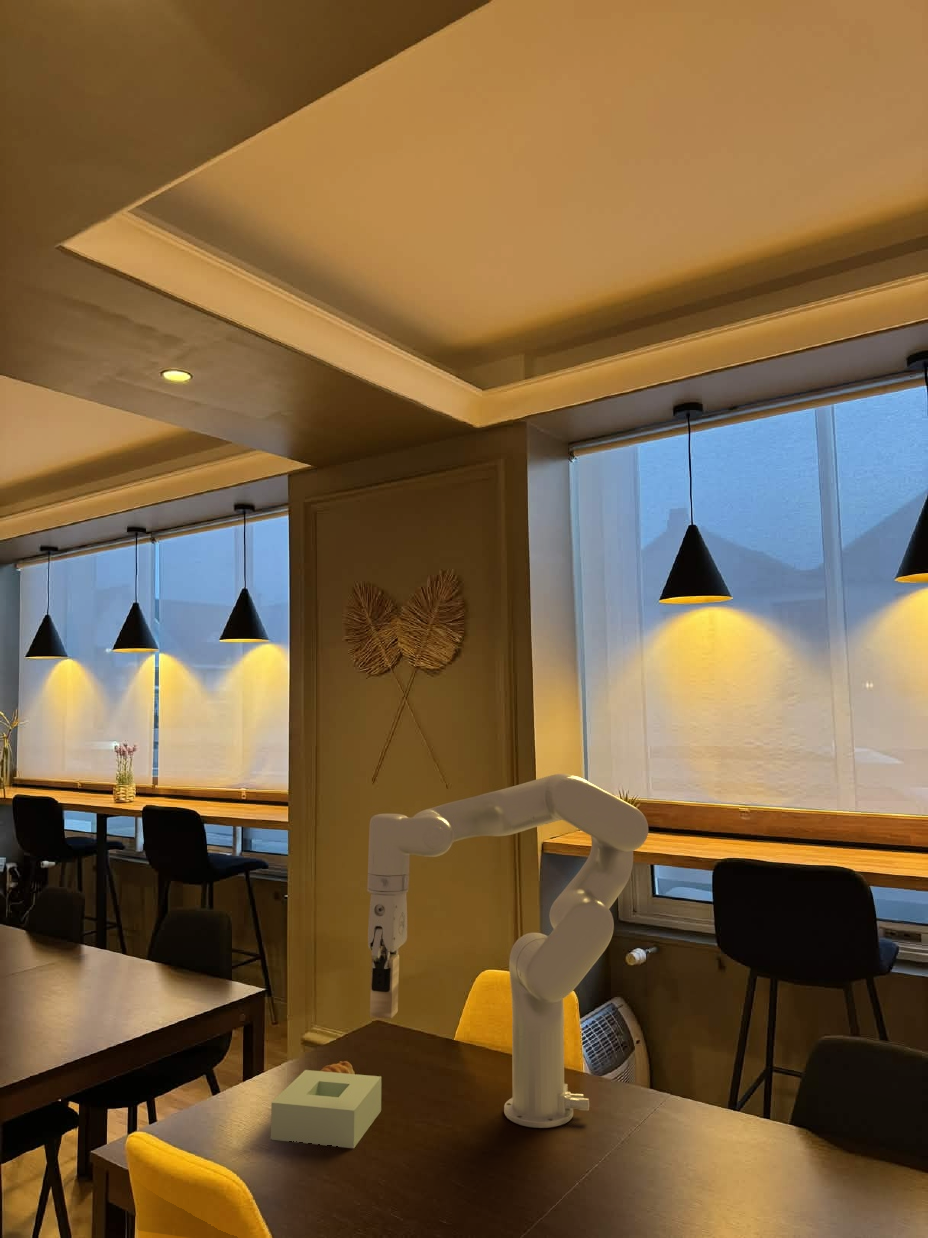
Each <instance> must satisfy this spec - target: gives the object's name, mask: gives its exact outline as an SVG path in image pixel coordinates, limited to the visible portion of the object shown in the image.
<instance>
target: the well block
mask: <svg viewBox="0 0 928 1238" xmlns="http://www.w3.org/2000/svg"><path fill="white" fill-rule="evenodd" d="M381 1111H382V1076H381V1075H379V1076H377V1075H368V1074H367V1075H366V1074H365V1075H364V1074H357V1073H356V1074H346V1073H335V1072H323V1071H321V1070H309V1069H304V1070H303V1072H301V1073H300V1074H299V1075H298V1076H297V1077H296V1078H295V1079H294V1080H293V1081H292V1082H291V1083H290V1084H289V1085H288V1086H287V1087H286V1088H285V1089H283V1090H282V1092H281V1093H280V1094H279V1095H277V1096H276V1097H275V1098H274V1100H272V1101H271V1111H270V1112H271V1115H270V1117H271V1118H270V1140H271V1139H272V1140H273V1141H281V1142H289V1141H292V1143H299V1142H303V1143H302V1144H308V1143H312V1144H311V1145H318V1144H320V1146H327V1145H332V1146H331V1147H336V1146H338V1147H339V1148H347V1149H355V1147H356V1146H357V1145H358V1143H359V1142H360V1141H361V1139H363V1136H364V1135H365V1134H366V1132H367V1131H368V1130H369V1128H370V1126H372V1124H373V1123H374V1121H375V1120H376V1118H377V1117H378V1116H379V1114H380V1113H381ZM272 1140H271V1141H272ZM293 1141H294V1142H293ZM296 1141H297V1142H296ZM338 1147H337V1148H338Z"/></svg>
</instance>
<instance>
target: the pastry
mask: <svg viewBox="0 0 928 1238" xmlns="http://www.w3.org/2000/svg"><path fill="white" fill-rule="evenodd" d="M320 1071H323V1072H335V1073H346V1074H355V1070H353V1065H352V1064H351V1063H350V1062H349V1061H347V1060H345V1061H341V1060H340V1061H339V1062H338V1063H332V1064H329V1065H325V1066H323V1067H322V1069H320Z"/></svg>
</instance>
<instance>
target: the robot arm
mask: <svg viewBox="0 0 928 1238" xmlns="http://www.w3.org/2000/svg"><path fill="white" fill-rule="evenodd" d="M558 821H564V822H565V823H568V824H569V825H571V826H573V827H575V828H576V829H578V830H580V831H582V832H583V833H585V834H588V836H590V839H591V846H590V847H591V848H590V852H589V855H588V856H587V859H586V860H585V862H584V864H583V865H582V866H581V868H580V870H579V871H578V872H577V874H575V876H574V877H573V878H572V880H570V882H569V883H568V885H567V886H566V887H565V888H564V889H563V890H562V891H561V893H559V895H558V896H557V898H556V899H554V901H553V902H552V905H551V907H550V909H549V921H550V924H551V927H552V929H553V930H552V931H551V932H550V934H548V935H546V934H544V933H540V932H529V933H525V934H523V935H522V936H520V937H519V938H518V939H517V940H516V941H515V942H514V944H513V946H512V947H511V950H510V955H509V958H508V959H509V962H508V964H509V965H508V968H509V970H508V971H509V980H510V990H511V991H510V992H511V1012H512V1013H511V1014H512V1015H511V1019H512V1021H511V1035H512V1036H511V1037H512V1038H511V1039H512V1040H511V1042H512V1043H511V1045H512V1046H511V1049H512V1050H511V1053H512V1056H511V1058H512V1060H511V1061H512V1063H511V1064H512V1065H511V1066H512V1070H511V1071H512V1078H511V1079H512V1080H511V1081H512V1082H511V1083H512V1097H511V1098H509V1099H508V1100H507V1101H506V1102H505V1103H504V1106H503V1112H504V1115H505V1117H506V1118H507V1119H508V1120H510V1121H511V1122H512V1123H515V1124H517V1125H520V1126H523V1127H527V1128H534V1129H537V1128H538V1129H548V1128H555V1127H560V1126H563V1125H565V1124H566V1123H568V1122H570V1121H571V1120H572V1118H573V1117H574V1109H575V1110H579V1111H589V1110H590V1099H589V1098H586V1097H584V1094H583V1093H571V1091H569V1090H568V1089H569V1087H568V1083H565V1044H564V1043H565V1041H564V1040H565V1039H564V1038H565V1037H564V1035H565V1031H564V1029H565V1028H564V1027H565V1016H564V1015H565V1010H564V999H565V998H567V997H568V996H569V995H570V994H571V993H572V992H573V991H574V990H575V989H576V988H577V987H578V986H579V984H580V983H581V981H582V980H583V979H584V978H585V977H586V975H587V974H588V973H589V971H590V970H591V969H592V968H593V966H594V965H595V964H596V963H597V962H598V960H599V958H600V957H601V956H602V955H603V953H604V952H605V951H606V950H607V948H608V946H609V944H610V942H611V940H612V938H613V934H614V930H615V925H614V923H615V922H614V917H613V913H612V912H611V910H610V909H611V907H612V905H614V903H615V902H616V900H617V898H618V897H619V896H620V894H621V893H622V892H623V890H624V889H625V887H626V886H627V883H628V882H629V880H630V877H631V875H632V870H633V864H634V851H635V850H638V849H640V848H641V847H642V846H643V845H644V843H645V842H646V841H647V838H648V836H649V825H648V824H649V823H648V821H647V817H646V816H645V815H644V813H642V811H641V810H639V809H638V808H637V807H635V806H634V805H633V804H630V803H628V802H627V801H624V800H623V799H621V798H619V797H618V796H615V795H613V794H612V793H609V792H608V791H606V790H603V789H602V788H600V787H598V786H597V785H595V784H593V783H591V782H589V781H588V780H587V779H584V778H582V777H580V776H578V775H577V776H576V775H572V774H568V773H556V774H552V775H548V776H543V777H542V778H541V777H540V778H537V779H534V780H529V781H527V782H524V783H520V784H517V785H514V786H509V787H506V788H503V789H499V790H495V791H490V792H487V793H486V792H485V793H482V794H480V795H479V794H478V795H476V796H472V797H466V798H464V799H460V800H459V799H458V800H455V801H451V802H448V803H447V802H446V803H443V804H441V805H438V806H433V807H430V808H427V809H423V810H421V811H419V812H417V813H415V814H414V815H413V816H412V817H411V816H410V817H409V816H407V815H405V814H401V813H379V814H375V815H373V816H372V817H371V818H370V820H369V827H368V828H369V829H368V830H369V833H368V835H369V836H368V856H367V860H368V861H367V864H368V865H367V890H366V892H368V893H369V894H371V895H370V903H369V913H368V927H367V947H368V949H369V950H370V951H371V954H370V957H371V961H372V960H373V964H372V967H373V971H372V990H373V991H379V992H389V991H390V972H391V968H389V958H390V954H396V955H399V948H400V947H401V946H403V945H404V944H405V943H406V942H407V939H408V904H407V903H408V902H407V901H408V900H407V893H408V892H409V888H410V887H409V883H410V856H411V855H414V856H415V855H416V856H421V857H426V858H429V857H430V858H435V857H439V856H442V855H444V854H446V853H448V851H449V850H450V848H451V847H452V845H453V843H454V842H457V841H461V840H465V839H470V838H474V837H485V836H486V837H487V836H489V837H503V836H510V835H515V834H519V833H521V832H525V831H527V830H530V829H534V828H537V827H541V826H543V825H549V824H551V823H555V822H558ZM381 953H382V954H385V959H384V956H383V955H381Z"/></svg>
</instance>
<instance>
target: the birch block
mask: <svg viewBox="0 0 928 1238" xmlns="http://www.w3.org/2000/svg"><path fill="white" fill-rule="evenodd" d="M381 955H383V956H384V959H385V954H382V953H381ZM370 964H371V966H370V967H371V969H370V972H371V973H370V993H369V994H370V996H369V998H370V1002H369V1017H370V1018H378V1019H379V1018H380V1019H389V1020H390V1019H393V1018H394V1016H396V1014H397V1013H398V1011H399V1008H398V1007H399V984H400V983H399V979H400V978H399V976H400V975H399V973H400V954H398V955H396V954H390V958H389V968H391V972H390V991H389V992H379V991H373V990H372V971H373V967H372V964H373V960H372V959H371V963H370Z"/></svg>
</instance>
